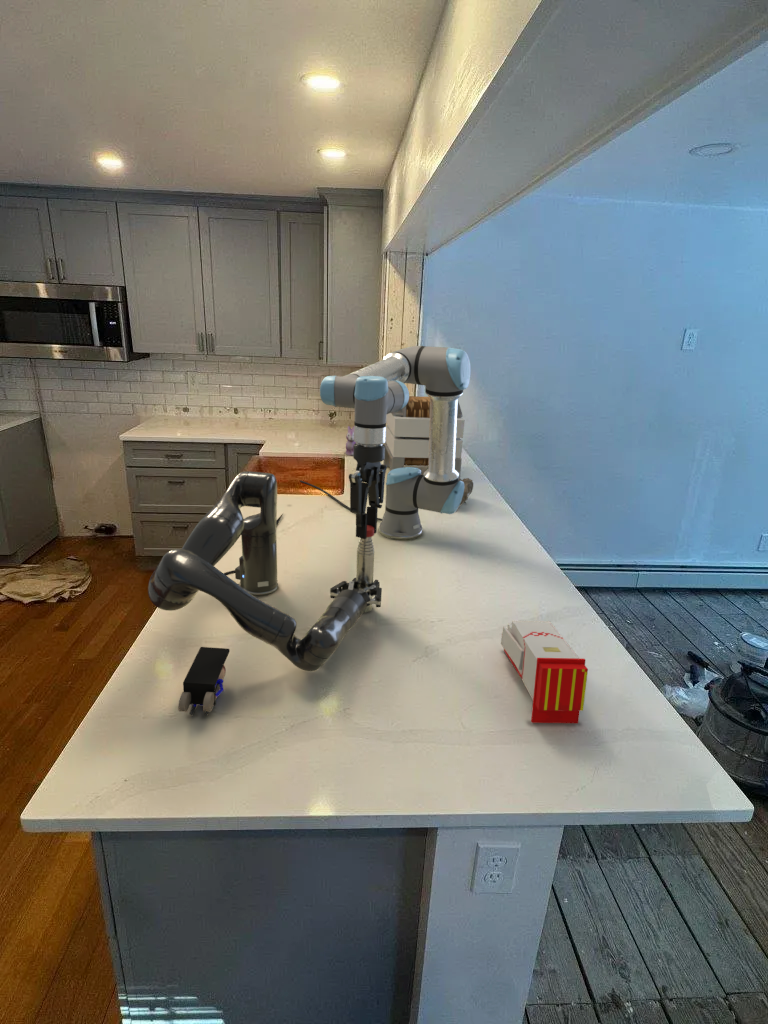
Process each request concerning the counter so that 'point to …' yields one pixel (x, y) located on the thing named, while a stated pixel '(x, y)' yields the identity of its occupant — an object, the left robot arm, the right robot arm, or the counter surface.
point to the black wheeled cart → (204, 680)
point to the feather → (278, 519)
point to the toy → (547, 670)
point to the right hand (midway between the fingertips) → (366, 534)
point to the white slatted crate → (415, 435)
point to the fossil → (466, 489)
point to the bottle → (365, 566)
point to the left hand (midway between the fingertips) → (368, 581)
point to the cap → (370, 531)
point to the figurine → (350, 441)
